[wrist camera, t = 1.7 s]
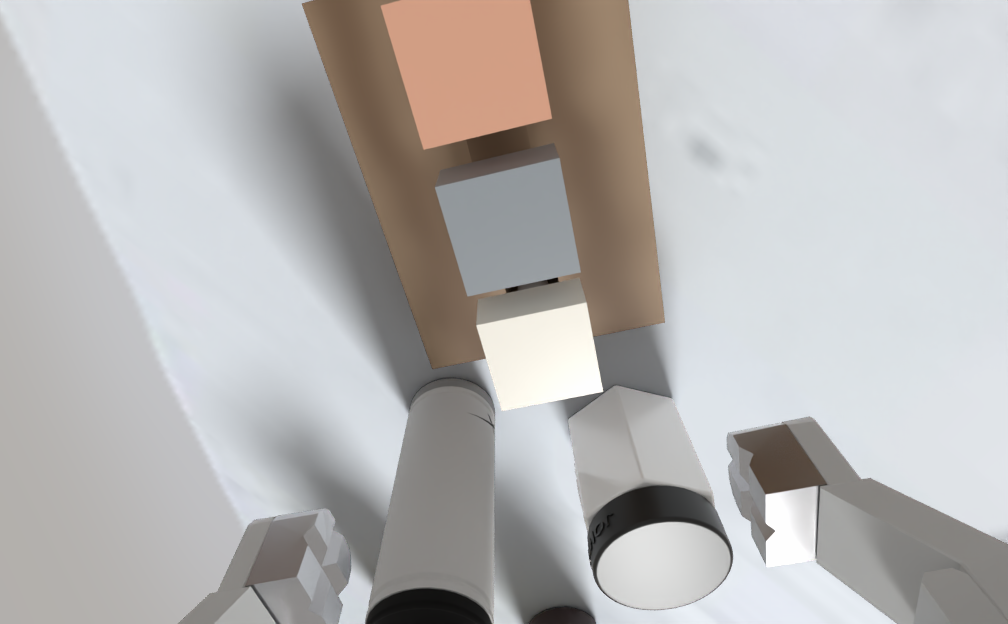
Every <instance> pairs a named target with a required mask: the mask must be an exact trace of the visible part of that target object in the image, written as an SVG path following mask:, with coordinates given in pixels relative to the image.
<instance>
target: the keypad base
mask: <svg viewBox="0 0 1008 624" xmlns="http://www.w3.org/2000/svg"><path fill="white" fill-rule="evenodd" d="M396 1H400V0H313V1H310V2H306V3H302V6H303V9H304V12H305V14H306V17H307V20H308V23H309V26H310V28H311V31H312V34H313V37H314V40H315V42H316V45H317V48H318V51H319V54H320V56H321V59H322V62H323V65H324V68H325V70H326V73H327V76H328V79H329V81H330V84H331V87H332V90H333V93H334V95H335V98H336V101H337V104H338V107H339V109H340V112H341V115H342V118H343V121H344V123H345V126H346V129H347V132H348V135H349V137H350V140H351V143H352V146H353V149H354V151H355V154H356V157H357V160H358V163H359V165H360V168H361V171H362V174H363V177H364V179H365V182H366V185H367V188H368V190H369V193H370V196H371V199H372V202H373V204H374V207H375V210H376V213H377V216H378V218H379V221H380V224H381V227H382V230H383V232H384V235H385V238H386V241H387V244H388V246H389V249H390V252H391V255H392V258H393V260H394V263H395V266H396V269H397V272H398V274H399V277H400V280H401V283H402V286H403V288H404V291H405V294H406V297H407V300H408V302H409V305H410V308H411V311H412V313H413V316H414V319H415V322H416V325H417V327H418V330H419V333H420V336H421V339H422V341H423V344H424V347H425V350H426V353H427V355H428V358H429V361H430V364H431V367H432V369H436V368H441V367H446V366H451V365H456V364H461V363H466V362H471V361H476V360H481V359H486V356H485V353H484V350H483V346H482V343H481V340H480V336H479V333H478V330H477V326H476V321H477V305H478V299H482V298H487V297H491V296H496V295H501V294H505V293H510V292H515V291H518V286H515V287H510V288H505V289H501V290H496V291H491V292H487V293H482V294H477V295H473V296H467V293H466V290H465V286H464V283H463V280H462V276H461V273H460V270H459V266H458V263H457V260H456V256H455V253H454V250H453V246H452V243H451V240H450V236H449V233H448V230H447V226H446V223H445V220H444V216H443V213H442V210H441V206H440V203H439V200H438V196H437V193H436V190H435V185H436V182H437V179H438V176H439V173H440V170H443V169H447V168H451V167H455V166H459V165H464V164H468V163H472V162H476V161H480V160H485V159H489V158H493V157H497V156H501V155H506V154H510V153H514V152H518V151H522V150H527V149H531V148H535V147H539V146H543V145H548V144H552V143H554V144H555V147H556V150H557V153H558V155H559V158H560V163H561V169H562V174H563V179H564V185H565V190H566V195H567V201H568V206H569V211H570V217H571V222H572V228H573V233H574V238H575V244H576V249H577V254H578V260H579V265H580V270H581V272H580V273H575V274H571V275H566V276H561V277H557V278H552V279H547V281H548V284H552V283H557V282H562V281H567V280H571V279H576V278H580V281H581V285H582V288H583V292H584V295H585V299H586V302H587V308H588V313H589V318H590V324H591V329H592V334H593V337H595V336H600V335H605V334H610V333H615V332H620V331H625V330H630V329H635V328H640V327H645V326H650V325H655V324H659V323H664V322H665V319H664V310H663V301H662V292H661V284H660V275H659V266H658V257H657V249H656V240H655V231H654V222H653V214H652V205H651V196H650V187H649V178H648V170H647V161H646V152H645V143H644V135H643V126H642V117H641V108H640V99H639V91H638V82H637V73H636V64H635V56H634V47H633V38H632V29H631V20H630V12H629V3H628V0H530V3H531V8H532V14H533V19H534V24H535V30H536V35H537V40H538V46H539V51H540V56H541V62H542V67H543V72H544V78H545V83H546V89H547V94H548V99H549V105H550V110H551V115H552V119H549V120H545V121H540V122H536V123H532V124H528V125H524V126H520V127H516V128H512V129H508V130H503V131H499V132H495V133H491V134H487V135H483V136H479V137H475V138H470V139H466V140H462V141H458V142H454V143H450V144H446V145H442V146H438V147H433V148H429V149H425V150H424V149H423V146H422V143H421V139H420V136H419V133H418V129H417V126H416V123H415V119H414V116H413V113H412V109H411V106H410V103H409V99H408V96H407V93H406V89H405V86H404V83H403V79H402V76H401V73H400V69H399V66H398V63H397V59H396V56H395V53H394V49H393V46H392V43H391V39H390V36H389V33H388V29H387V26H386V23H385V19H384V16H383V13H382V9H381V5H385V4H389V3H392V2H396Z"/></svg>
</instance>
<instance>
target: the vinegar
mask: <svg viewBox="0 0 1008 624" xmlns="http://www.w3.org/2000/svg"><path fill="white" fill-rule="evenodd" d="M529 624H596V622H595V621H594V619H593V617H591V616H590V615H589V614H587V613H586V612H584V611H581V610H579V609H576V608H569V607H559V608H553V609H549V610H545V611H543V612H542V613H540V614H538V615H536V616H535V617H534V618H533V619H532V620H531V621H530V623H529Z"/></svg>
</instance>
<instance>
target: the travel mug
mask: <svg viewBox="0 0 1008 624" xmlns="http://www.w3.org/2000/svg"><path fill="white" fill-rule="evenodd" d="M494 502H495V408H494V404H493V402H492V400H491V398H490V396H489V395H488V394H487V393H486V392H485V391H484V390H483V389H482V388H480V387H479V386H478V385H476V384H474V383H472V382H470V381H466V380H463V379H456V378H445V379H440V380H436V381H434V382H431V383H429V384H427V385H425V386H424V387H422V388H421V389H420V390H419V391H418V392H417V393H416V395H415V396H414V398H413V400H412V402H411V405H410V410H409V415H408V420H407V424H406V429H405V434H404V439H403V443H402V448H401V453H400V458H399V462H398V467H397V472H396V477H395V481H394V486H393V491H392V496H391V500H390V505H389V510H388V515H387V519H386V524H385V529H384V534H383V538H382V543H381V548H380V553H379V557H378V562H377V567H376V572H375V576H374V581H373V586H372V591H371V595H370V600H369V608H368V611H367V614H366V620H365V624H494V620H493V615H494Z"/></svg>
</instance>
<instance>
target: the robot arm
mask: <svg viewBox="0 0 1008 624" xmlns="http://www.w3.org/2000/svg"><path fill="white" fill-rule="evenodd" d="M727 450H728V452H729V453H730V455H731V457H732V459H733V460H732V462H731V463H730V464H729V466H728V471H729V480H730V485H731V489H732V493H733V496H734V499H735V501H736V504H737V506H738V509H739V511H740V513H741V515H742V516H743V517H744V518H746V519H748V520H749V521H751V535H752V538H753V540H754V542H755V544H756V546H757V548H758V550H759V552H760V554H761V556H762V558H763V560H764V562H765V564H766V566H767V567H770V566H777V565H784V564H792V563H799V562H806V561H814V560H816V563H818V564H819V565H820V566H822V567H823V568H824V569H826V570H827V571H828V572H829V573H831V574H832V575H833V576H835V577H836V578H837V579H839V580H840V581H841V582H843V583H844V584H845V585H847V586H848V587H849V588H851V589H852V590H853V591H855V592H856V593H857V594H859V595H860V596H861V597H862V598H864V599H865V600H866V601H868V602H869V603H870V604H872V605H873V606H874V607H876V608H877V609H878V610H880V611H881V612H882V613H884V614H885V615H886V616H888V617H889V618H890V619H892V620H893V621H894V622H895V623H897V624H1008V544H1006V543H1004V542H1002V541H1000V540H998V539H996V538H994V537H992V536H990V535H987V534H985V533H983V532H981V531H979V530H977V529H975V528H973V527H971V526H969V525H967V524H965V523H963V522H960V521H958V520H956V519H954V518H952V517H950V516H948V515H946V514H944V513H942V512H940V511H938V510H935V509H933V508H931V507H929V506H927V505H925V504H923V503H921V502H919V501H917V500H915V499H913V498H911V497H908V496H906V495H904V494H902V493H900V492H898V491H896V490H894V489H892V488H890V487H888V486H886V485H883V484H881V483H879V482H877V481H875V480H873V479H871V478H867V479H861V478H860V477H859V476H858V474H857V473H856V472H855V470H854V469H853V468H852V467H851V465H850V464H849V463H848V461H847V460H846V459H845V458H844V456H843V455H842V454H841V452H840V451H839V450H838V449H837V447H836V446H835V445H834V443H833V442H832V441H831V440H830V438H829V437H828V436H827V434H826V433H825V432H824V431H823V429H822V428H821V427H820V425H819V424H818V423H817V422H816V420H815V419H813V418H811V417H805V418H800V419H795V420H790V421H785V422H782V423H776V424H771V425H765V426H760V427H755V428H750V429H745V430H740V431H735V432H730V433H728V435H727ZM335 521H336V520H335V519H334V517H333V515H332V514H331V512H330V510H329V509H324V508H322V509H316V510H310V511H304V512H297V513H291V514H285V515H278V516H276V517H269V518H263V519H256V520H254V521H253V522H252V523H250V524H249V525H248V527H247V529H246V531H245V533H244V535H243V537H242V540H241V542H240V544H239V546H238V548H237V550H236V552H235V555H234V557H233V559H232V561H231V564H230V565H229V568H228V570H227V572H226V574H225V576H224V579H223V581H222V583H221V585H220V587H219V589H218V591H217V592H216V593H211V594H209V595H208V596H207V597H206V598H205V599H204V600H203V601H202V602H200V603H199V604H198V605H197V606H196V607H195V608H194V609H193V610H192V611H191V612H190V613H189V614H188V615H187V616H185V617H184V618H183V619H182V620H181V621H180V622H179V623H178V624H338V623H339V618H340V614H341V610H342V606H343V604H342V602H341V601H340V599H339V597H338V595H339V594H340V593H341V591H342V590H343V589H344V588H345V587H346V586H347V584H348V582H349V577H350V572H351V554H350V550H349V546H348V543H347V541H346V539H345V537H344V535H342V534H340V533H338V532H336V531H335V530H333V528H334V524H335Z"/></svg>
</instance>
